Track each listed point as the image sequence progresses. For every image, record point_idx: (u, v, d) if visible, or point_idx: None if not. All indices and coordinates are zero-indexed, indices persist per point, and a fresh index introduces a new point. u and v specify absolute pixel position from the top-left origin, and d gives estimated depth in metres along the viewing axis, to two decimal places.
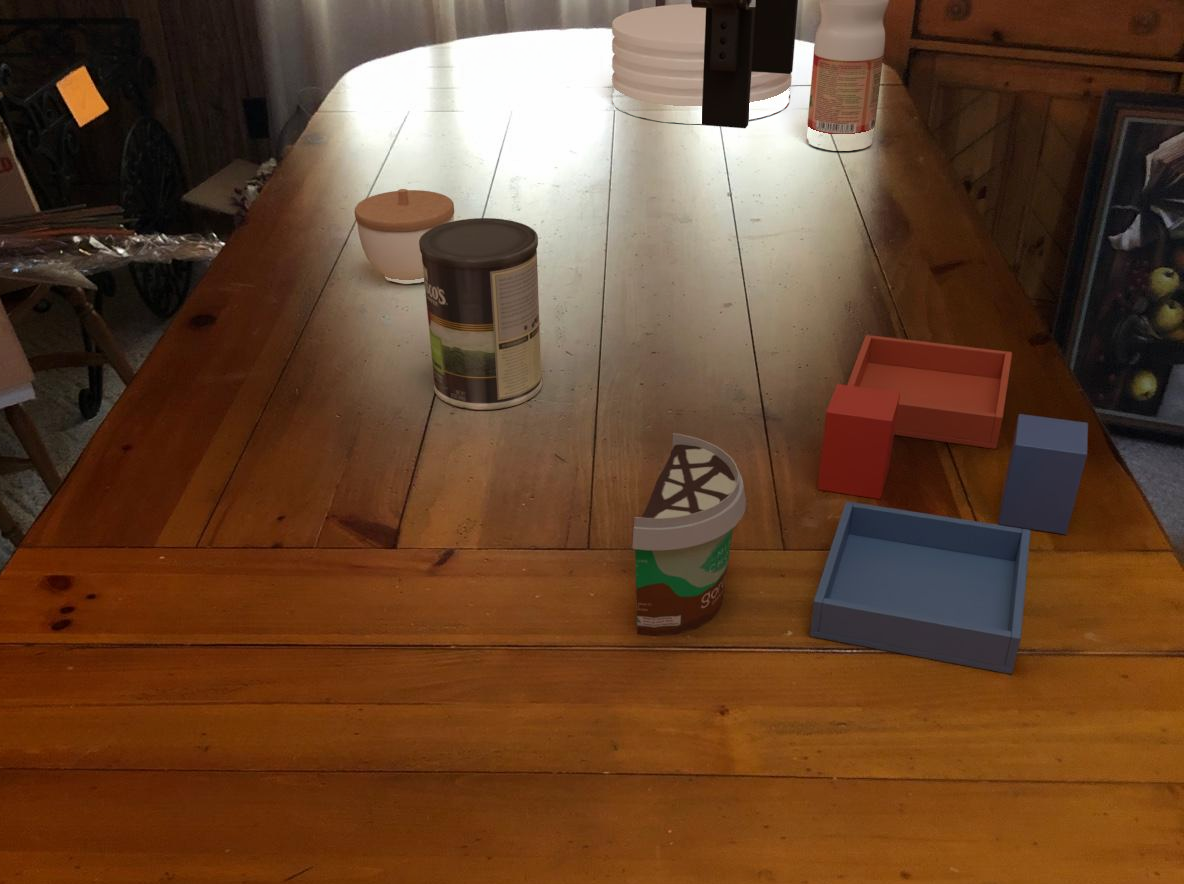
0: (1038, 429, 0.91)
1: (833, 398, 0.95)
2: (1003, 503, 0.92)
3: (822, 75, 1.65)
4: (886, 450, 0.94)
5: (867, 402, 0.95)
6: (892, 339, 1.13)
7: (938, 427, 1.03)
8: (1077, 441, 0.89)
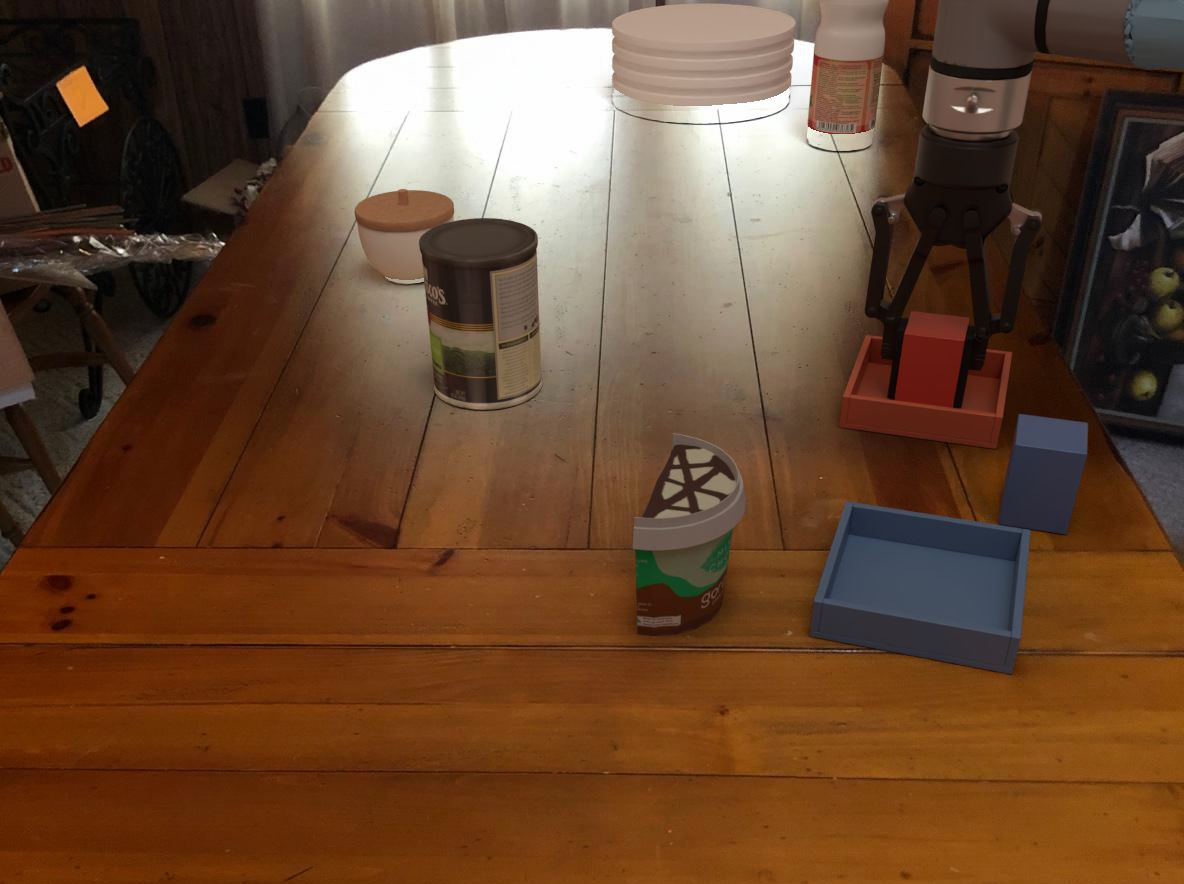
0: (1038, 429, 0.91)
1: (909, 322, 1.05)
2: (1003, 503, 0.92)
3: (822, 75, 1.65)
4: (958, 368, 1.04)
5: (940, 326, 1.05)
6: None
7: (938, 427, 1.03)
8: (1077, 441, 0.89)
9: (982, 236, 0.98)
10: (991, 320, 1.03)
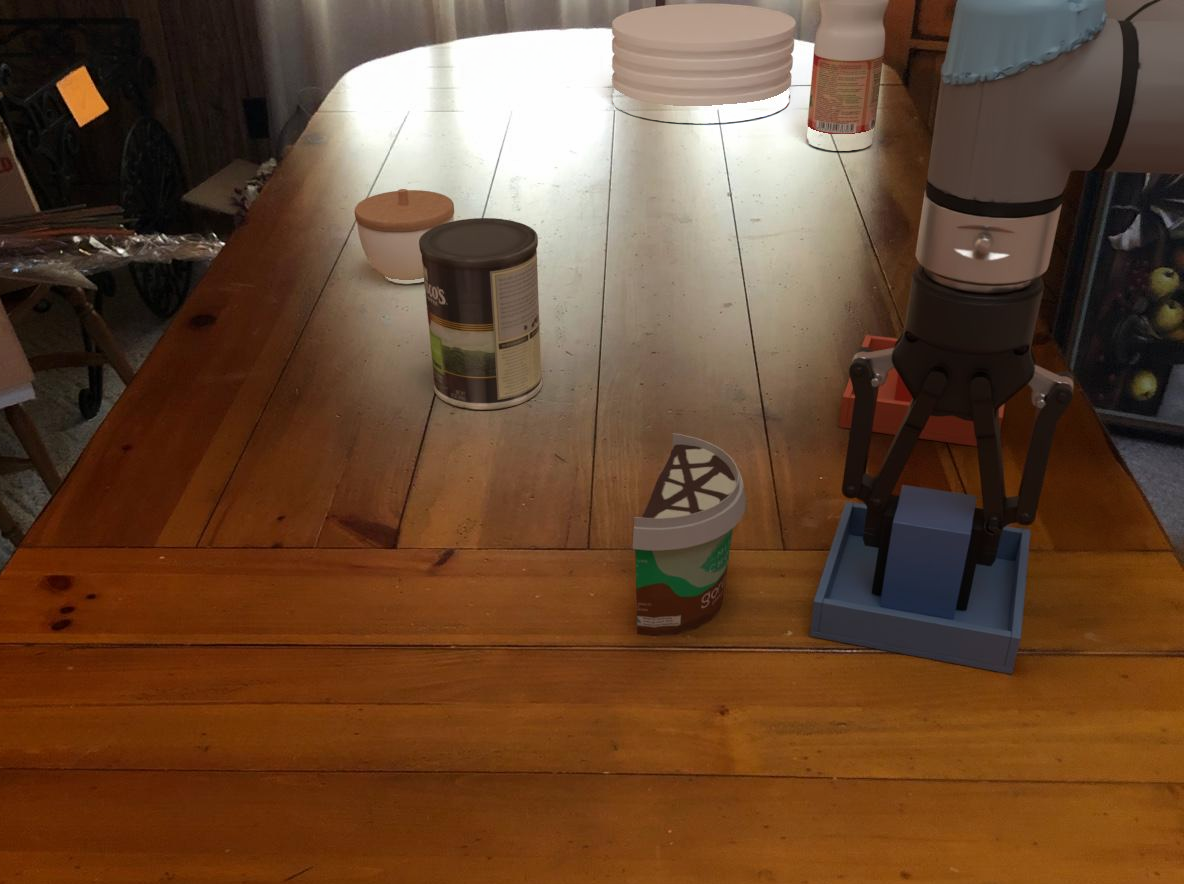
0: (921, 504, 0.82)
1: None
2: (884, 584, 0.83)
3: (822, 75, 1.65)
4: None
5: None
6: (892, 339, 1.13)
7: (938, 427, 1.03)
8: (962, 518, 0.80)
9: (994, 407, 0.75)
10: (1005, 507, 0.79)
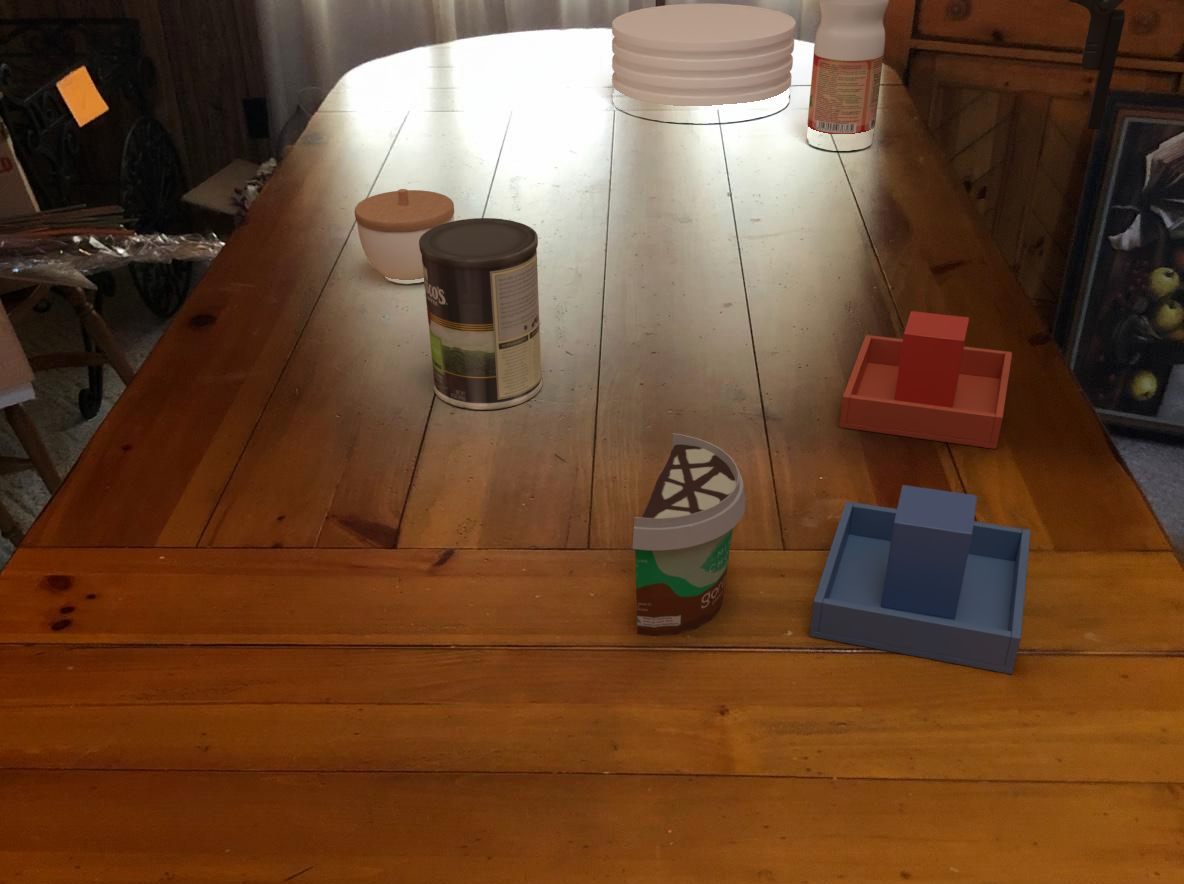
0: (922, 504, 0.82)
1: (909, 322, 1.05)
2: (885, 585, 0.83)
3: (822, 75, 1.65)
4: (958, 368, 1.04)
5: (940, 326, 1.05)
6: (892, 339, 1.13)
7: (938, 427, 1.03)
8: (963, 518, 0.80)
9: None
10: None
